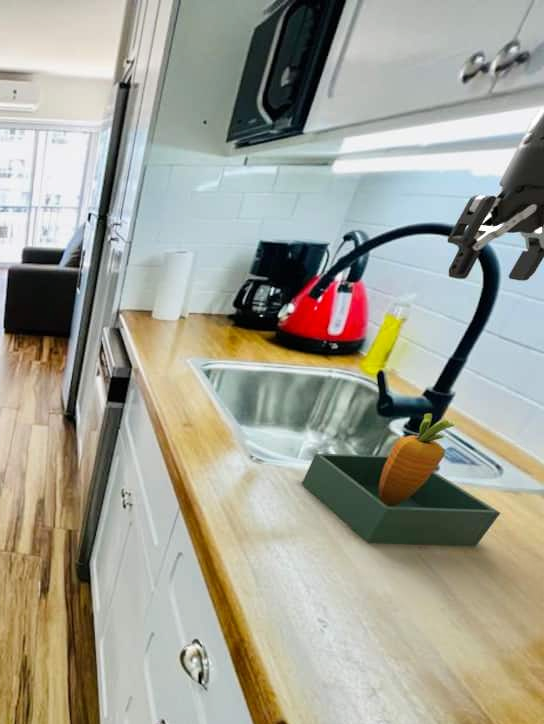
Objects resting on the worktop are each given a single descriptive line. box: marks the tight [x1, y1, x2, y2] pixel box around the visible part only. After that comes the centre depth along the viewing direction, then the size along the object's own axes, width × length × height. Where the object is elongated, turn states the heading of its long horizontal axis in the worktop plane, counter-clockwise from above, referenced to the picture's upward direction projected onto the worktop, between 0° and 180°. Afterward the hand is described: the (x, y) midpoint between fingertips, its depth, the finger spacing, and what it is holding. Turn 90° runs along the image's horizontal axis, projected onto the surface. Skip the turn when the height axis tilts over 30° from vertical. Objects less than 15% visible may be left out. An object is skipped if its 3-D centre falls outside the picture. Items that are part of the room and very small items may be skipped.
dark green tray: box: [301, 452, 501, 548], centre depth 68 cm, size 14×14×6 cm
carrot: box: [379, 412, 455, 507], centre depth 66 cm, size 5×5×15 cm
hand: (487, 278), depth 68 cm, fingers open, 8 cm apart
